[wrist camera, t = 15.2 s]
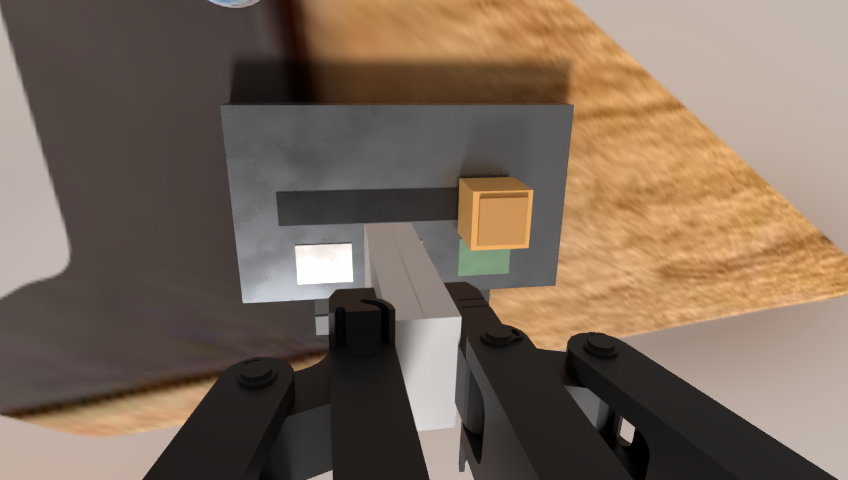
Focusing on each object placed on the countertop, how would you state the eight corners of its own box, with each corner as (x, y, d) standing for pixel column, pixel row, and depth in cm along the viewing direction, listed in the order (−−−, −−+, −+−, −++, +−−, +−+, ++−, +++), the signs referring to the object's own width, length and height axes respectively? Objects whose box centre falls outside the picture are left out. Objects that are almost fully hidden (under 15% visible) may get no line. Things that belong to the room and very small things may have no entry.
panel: (249, 286, 40) (242, 303, 37) (229, 101, 36) (219, 105, 33) (541, 271, 44) (555, 285, 41) (557, 101, 39) (574, 105, 36)
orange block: (457, 231, 38) (471, 252, 34) (459, 178, 36) (474, 192, 32) (510, 229, 38) (530, 249, 34) (513, 177, 37) (535, 191, 33)
